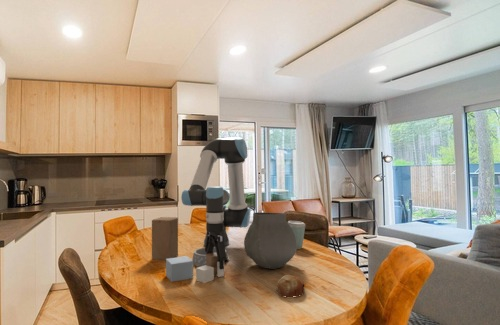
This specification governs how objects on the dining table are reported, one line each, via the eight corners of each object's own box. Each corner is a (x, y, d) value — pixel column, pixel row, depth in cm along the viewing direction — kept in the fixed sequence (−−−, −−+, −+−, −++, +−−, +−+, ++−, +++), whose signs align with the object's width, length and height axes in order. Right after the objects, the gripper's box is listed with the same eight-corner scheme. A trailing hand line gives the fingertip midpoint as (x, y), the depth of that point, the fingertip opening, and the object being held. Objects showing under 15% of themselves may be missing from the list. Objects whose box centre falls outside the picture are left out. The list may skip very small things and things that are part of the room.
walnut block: (218, 269, 139) (218, 252, 140) (224, 273, 134) (224, 255, 134) (206, 272, 136) (206, 253, 137) (211, 276, 131) (211, 257, 131)
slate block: (186, 271, 137) (186, 255, 137) (193, 278, 129) (193, 261, 129) (166, 275, 132) (166, 258, 133) (171, 281, 125) (171, 264, 125)
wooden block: (169, 260, 155) (169, 220, 155) (151, 259, 157) (151, 219, 157) (178, 255, 164) (178, 217, 165) (160, 254, 166) (160, 216, 167)
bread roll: (279, 297, 117) (270, 278, 117) (303, 284, 118) (294, 266, 118) (284, 309, 107) (274, 288, 107) (310, 295, 108) (300, 274, 108)
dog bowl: (235, 259, 157) (235, 248, 157) (212, 269, 141) (212, 257, 141) (208, 255, 165) (208, 244, 166) (184, 264, 150) (184, 252, 150)
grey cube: (205, 277, 130) (205, 265, 130) (213, 279, 127) (213, 267, 127) (196, 280, 126) (196, 268, 127) (204, 283, 123) (204, 270, 123)
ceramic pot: (301, 261, 152) (300, 209, 152) (291, 277, 129) (290, 216, 129) (253, 256, 160) (253, 208, 160) (236, 271, 137) (236, 214, 137)
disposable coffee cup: (305, 245, 182) (304, 220, 183) (306, 250, 172) (306, 223, 172) (286, 245, 183) (286, 220, 184) (287, 250, 173) (286, 223, 173)
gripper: (197, 219, 144) (197, 266, 144) (217, 226, 124) (217, 282, 123) (212, 217, 148) (213, 264, 147) (234, 225, 127) (234, 278, 127)
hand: (215, 272), depth 135 cm, fingers open, 11 cm apart
